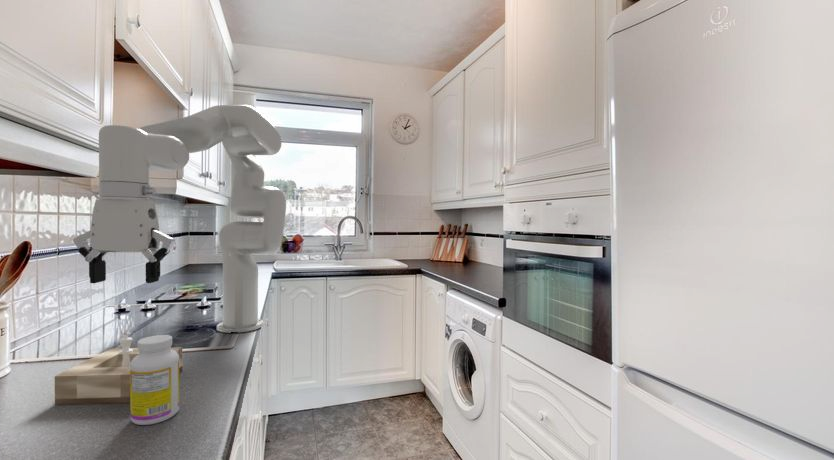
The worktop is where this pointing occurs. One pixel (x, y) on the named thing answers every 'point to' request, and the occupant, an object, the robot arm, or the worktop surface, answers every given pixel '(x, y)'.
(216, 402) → the worktop surface
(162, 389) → the supplement bottle
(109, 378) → the socket block
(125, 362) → the chess piece
